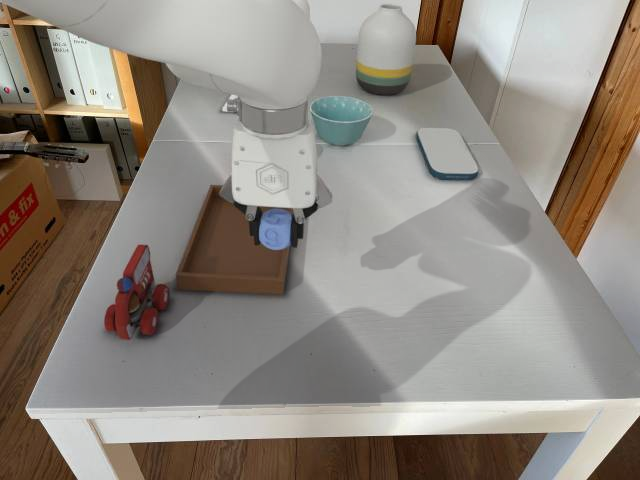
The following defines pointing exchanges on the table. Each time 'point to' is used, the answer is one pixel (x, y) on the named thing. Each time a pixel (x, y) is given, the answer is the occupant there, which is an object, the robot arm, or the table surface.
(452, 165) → the external hard drive
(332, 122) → the bowl
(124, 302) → the toy fire truck
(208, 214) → the tray
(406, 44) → the vase
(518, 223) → the table surface
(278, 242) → the decorative dice
